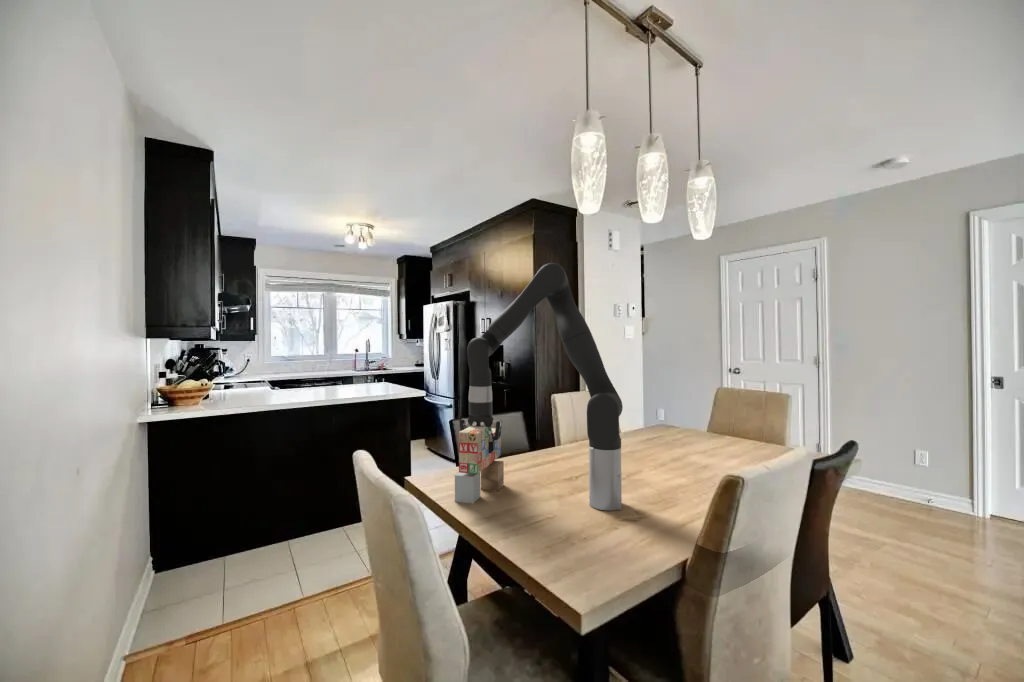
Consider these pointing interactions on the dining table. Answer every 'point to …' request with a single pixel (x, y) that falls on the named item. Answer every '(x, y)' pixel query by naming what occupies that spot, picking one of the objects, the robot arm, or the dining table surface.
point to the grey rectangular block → (467, 487)
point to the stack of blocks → (476, 449)
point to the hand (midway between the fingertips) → (480, 452)
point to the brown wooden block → (493, 476)
